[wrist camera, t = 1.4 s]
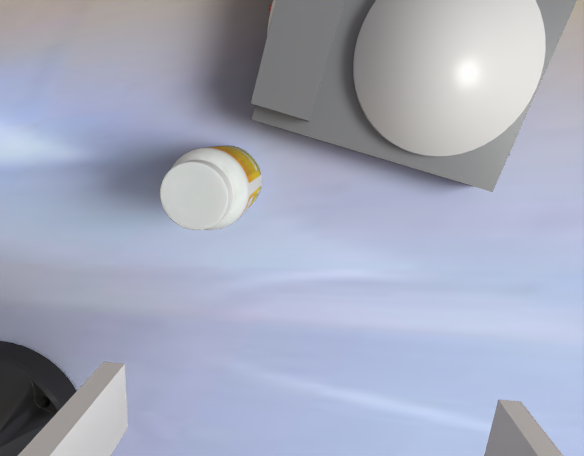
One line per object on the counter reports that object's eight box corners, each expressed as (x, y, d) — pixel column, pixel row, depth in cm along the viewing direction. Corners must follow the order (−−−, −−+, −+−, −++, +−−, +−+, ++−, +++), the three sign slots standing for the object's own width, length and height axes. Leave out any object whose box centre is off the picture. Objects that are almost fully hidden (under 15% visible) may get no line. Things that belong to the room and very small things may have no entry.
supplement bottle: (263, 211, 31) (240, 244, 21) (200, 209, 31) (151, 241, 22) (262, 145, 29) (239, 150, 20) (197, 143, 30) (143, 148, 20)
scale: (252, 119, 29) (240, 116, 24) (303, -84, 25) (300, -133, 21) (474, 186, 29) (505, 196, 24) (555, -6, 26) (609, -37, 21)
